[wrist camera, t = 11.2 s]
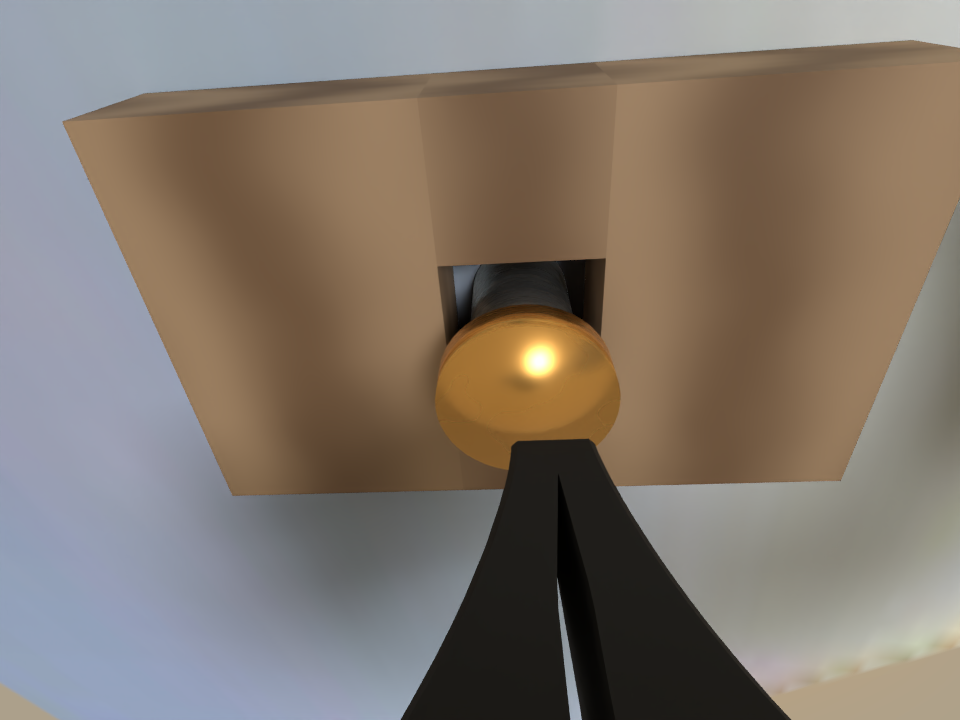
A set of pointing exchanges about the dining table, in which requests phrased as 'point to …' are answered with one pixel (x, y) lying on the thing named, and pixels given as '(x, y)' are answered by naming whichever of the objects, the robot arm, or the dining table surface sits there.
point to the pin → (524, 367)
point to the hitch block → (538, 251)
